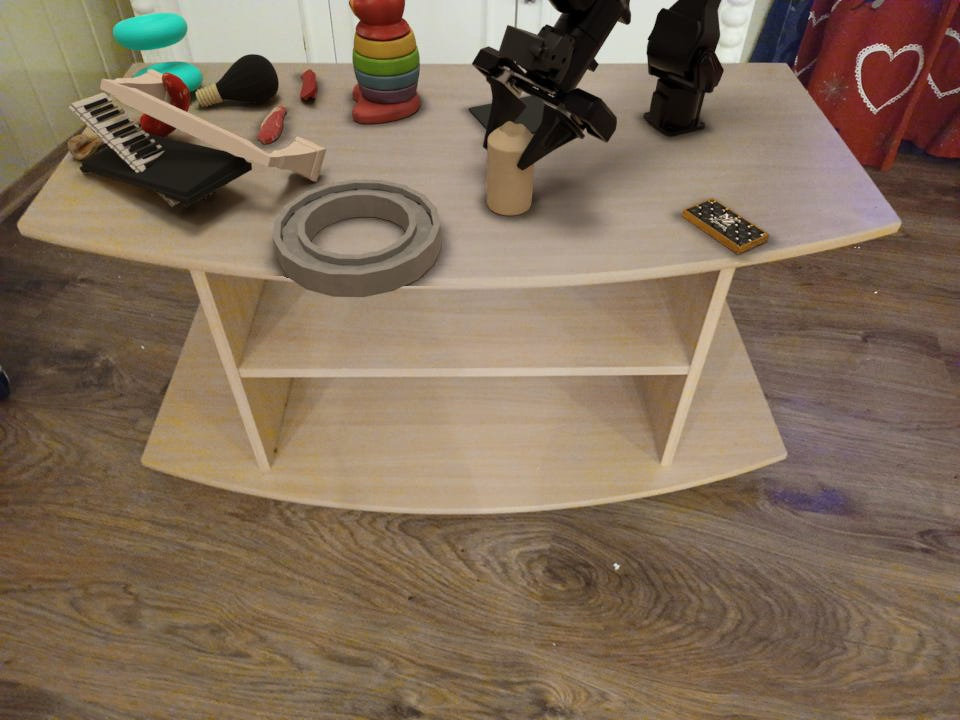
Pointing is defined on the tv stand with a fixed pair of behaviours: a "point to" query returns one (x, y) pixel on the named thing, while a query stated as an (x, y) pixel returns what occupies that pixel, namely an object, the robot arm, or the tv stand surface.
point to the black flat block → (725, 225)
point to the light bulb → (243, 83)
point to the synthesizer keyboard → (155, 157)
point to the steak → (272, 125)
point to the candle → (508, 170)
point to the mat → (528, 117)
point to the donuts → (158, 43)
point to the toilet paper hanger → (211, 126)
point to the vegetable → (179, 100)
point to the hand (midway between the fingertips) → (502, 158)
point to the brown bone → (91, 141)
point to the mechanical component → (357, 270)
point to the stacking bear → (384, 62)
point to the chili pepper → (309, 85)
